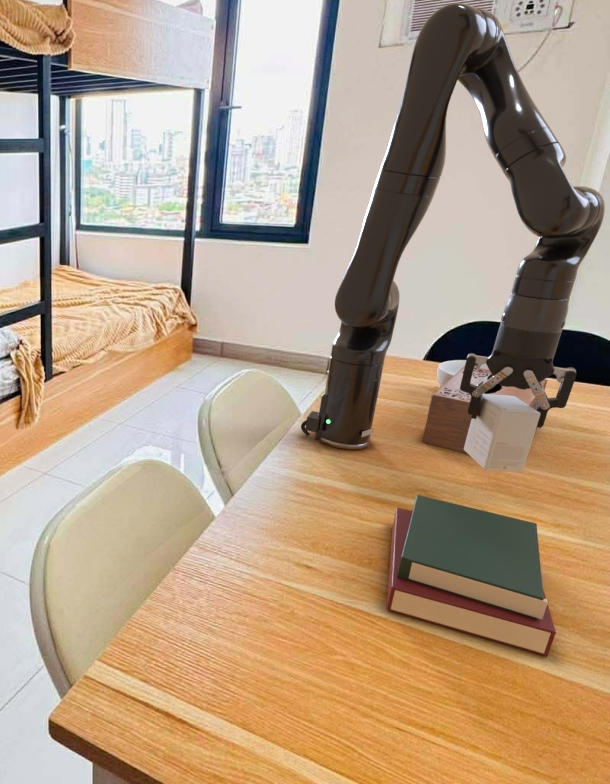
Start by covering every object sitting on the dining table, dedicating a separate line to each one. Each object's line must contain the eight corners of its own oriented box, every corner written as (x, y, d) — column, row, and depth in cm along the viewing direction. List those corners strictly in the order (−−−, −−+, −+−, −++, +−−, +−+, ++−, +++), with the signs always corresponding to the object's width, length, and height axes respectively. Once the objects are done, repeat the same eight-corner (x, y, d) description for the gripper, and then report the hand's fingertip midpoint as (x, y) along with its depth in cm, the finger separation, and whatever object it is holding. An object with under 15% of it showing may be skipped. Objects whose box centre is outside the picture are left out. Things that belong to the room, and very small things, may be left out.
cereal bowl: (435, 382, 158) (441, 355, 156) (517, 394, 149) (525, 366, 146) (429, 402, 145) (435, 373, 143) (518, 417, 136) (527, 386, 133)
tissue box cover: (455, 407, 142) (465, 365, 138) (534, 424, 132) (547, 379, 129) (421, 441, 125) (432, 394, 121) (510, 464, 115) (524, 414, 112)
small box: (523, 474, 100) (542, 413, 96) (483, 470, 101) (501, 410, 97) (498, 452, 107) (515, 395, 103) (462, 449, 108) (478, 392, 104)
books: (386, 610, 78) (396, 566, 76) (392, 526, 96) (400, 489, 94) (548, 657, 71) (565, 610, 68) (522, 557, 88) (534, 517, 86)
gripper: (590, 326, 94) (558, 426, 100) (476, 312, 102) (452, 406, 108) (595, 336, 89) (560, 442, 94) (473, 322, 97) (448, 419, 103)
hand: (502, 422), depth 101 cm, fingers closed on small box, 7 cm apart
